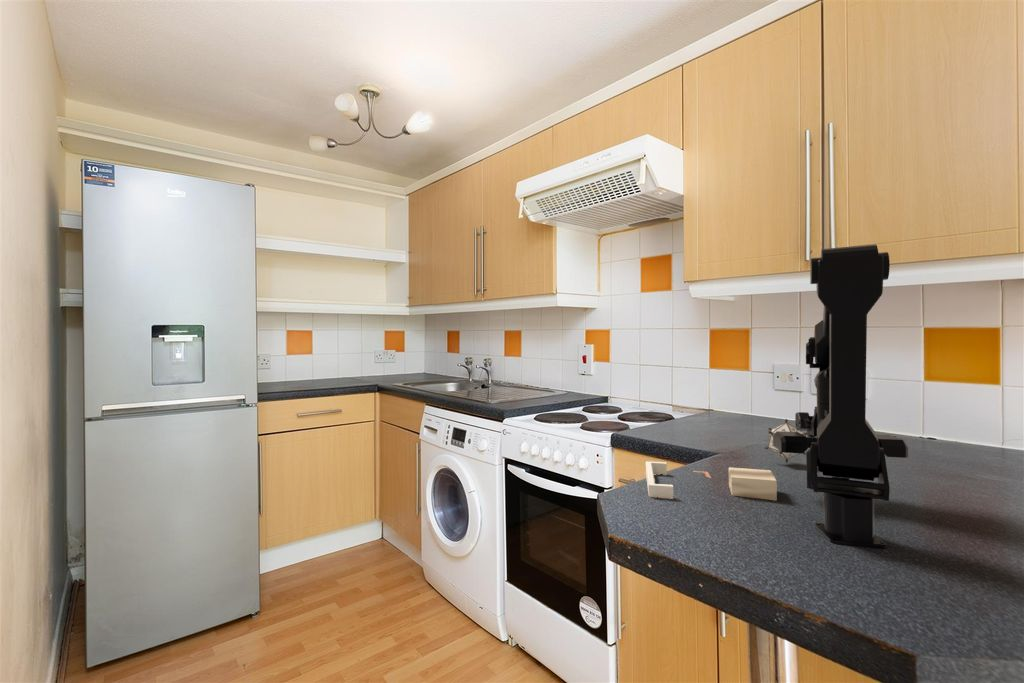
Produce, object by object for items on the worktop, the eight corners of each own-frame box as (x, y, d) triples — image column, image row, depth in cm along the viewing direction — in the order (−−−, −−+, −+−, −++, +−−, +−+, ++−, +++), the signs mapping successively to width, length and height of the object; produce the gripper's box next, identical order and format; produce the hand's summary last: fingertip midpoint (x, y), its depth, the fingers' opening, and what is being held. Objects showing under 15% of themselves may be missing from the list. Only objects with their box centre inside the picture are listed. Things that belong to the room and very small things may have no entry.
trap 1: (711, 480, 96) (711, 478, 96) (669, 478, 98) (669, 476, 98) (707, 473, 101) (707, 471, 101) (667, 471, 103) (667, 469, 103)
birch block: (776, 504, 82) (776, 480, 82) (731, 500, 85) (731, 477, 85) (770, 492, 89) (770, 470, 89) (728, 488, 91) (728, 467, 91)
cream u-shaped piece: (673, 504, 82) (673, 486, 82) (648, 502, 83) (648, 485, 83) (666, 477, 99) (666, 462, 99) (645, 476, 99) (645, 461, 99)
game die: (764, 465, 107) (763, 419, 107) (764, 457, 115) (763, 414, 115) (811, 469, 103) (811, 422, 103) (808, 461, 111) (808, 417, 111)
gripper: (875, 399, 89) (876, 484, 89) (764, 397, 94) (765, 478, 94) (909, 406, 79) (910, 503, 78) (781, 404, 83) (782, 495, 83)
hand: (837, 493), depth 84 cm, fingers closed
